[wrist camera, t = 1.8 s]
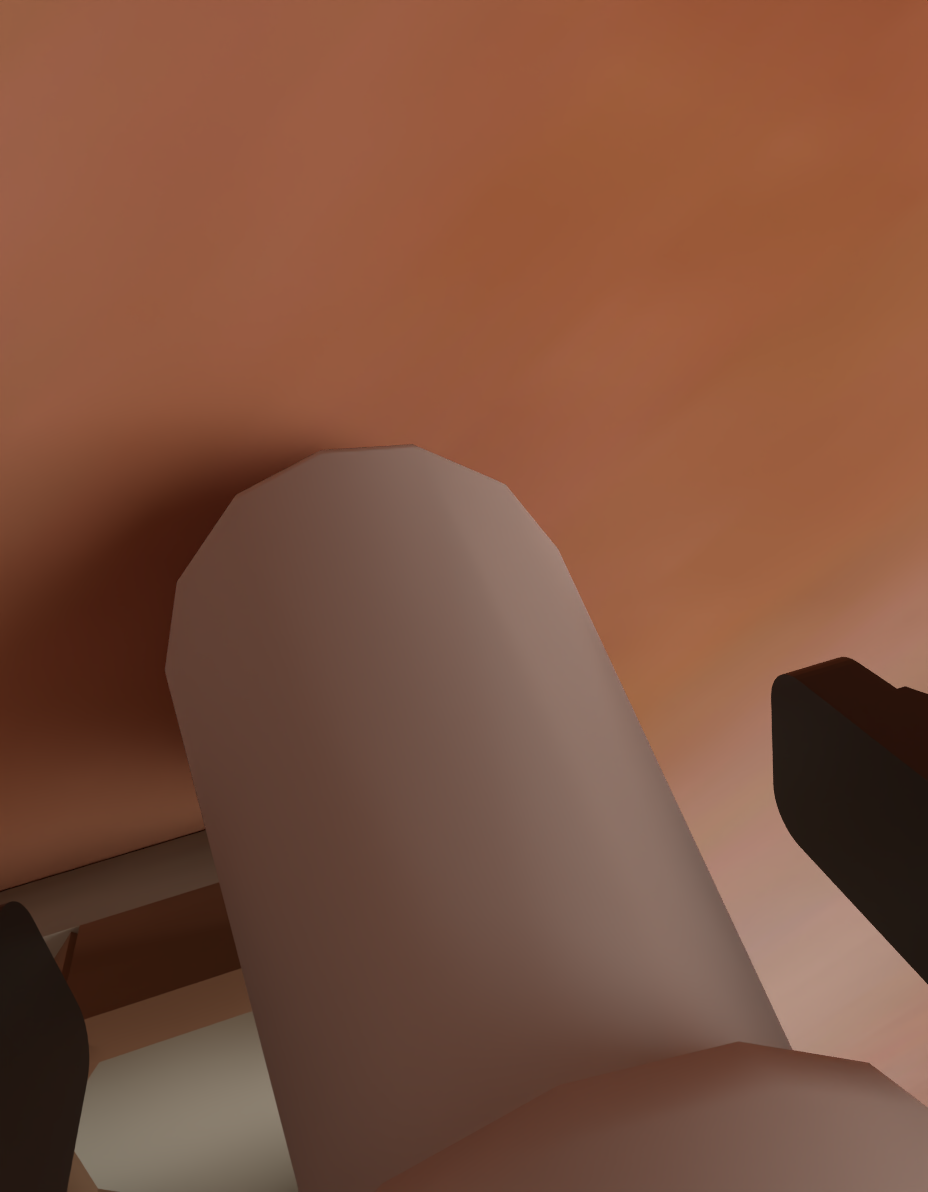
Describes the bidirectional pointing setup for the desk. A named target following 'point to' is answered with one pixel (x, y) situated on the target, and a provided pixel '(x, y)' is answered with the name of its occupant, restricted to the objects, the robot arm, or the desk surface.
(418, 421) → the desk surface
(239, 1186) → the peg board
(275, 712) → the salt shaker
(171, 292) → the desk surface
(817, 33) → the desk surface
